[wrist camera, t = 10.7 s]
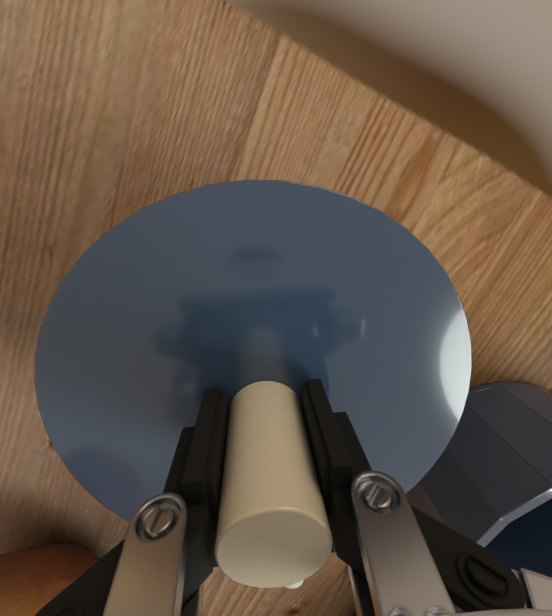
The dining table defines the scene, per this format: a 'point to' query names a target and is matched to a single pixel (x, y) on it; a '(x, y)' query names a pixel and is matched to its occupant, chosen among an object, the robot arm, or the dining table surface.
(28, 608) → the butternut squash
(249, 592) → the dining table surface
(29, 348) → the dining table surface
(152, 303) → the lid
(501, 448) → the canister
